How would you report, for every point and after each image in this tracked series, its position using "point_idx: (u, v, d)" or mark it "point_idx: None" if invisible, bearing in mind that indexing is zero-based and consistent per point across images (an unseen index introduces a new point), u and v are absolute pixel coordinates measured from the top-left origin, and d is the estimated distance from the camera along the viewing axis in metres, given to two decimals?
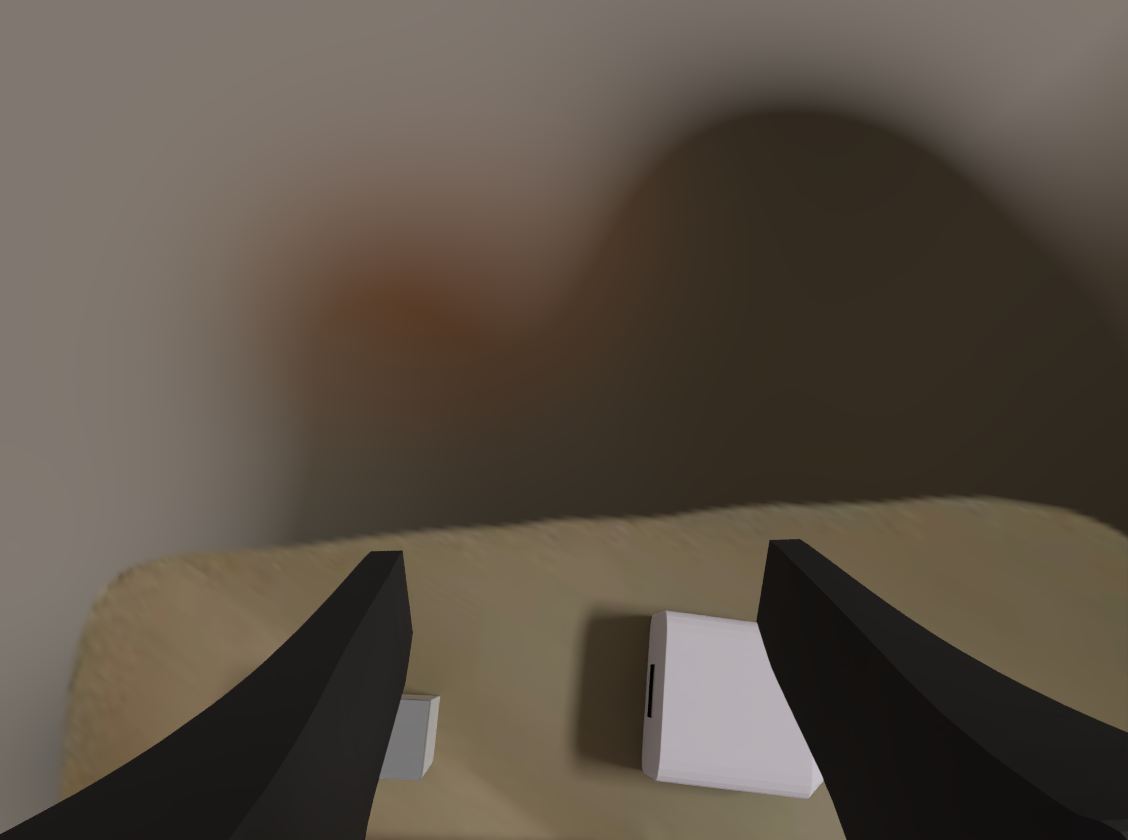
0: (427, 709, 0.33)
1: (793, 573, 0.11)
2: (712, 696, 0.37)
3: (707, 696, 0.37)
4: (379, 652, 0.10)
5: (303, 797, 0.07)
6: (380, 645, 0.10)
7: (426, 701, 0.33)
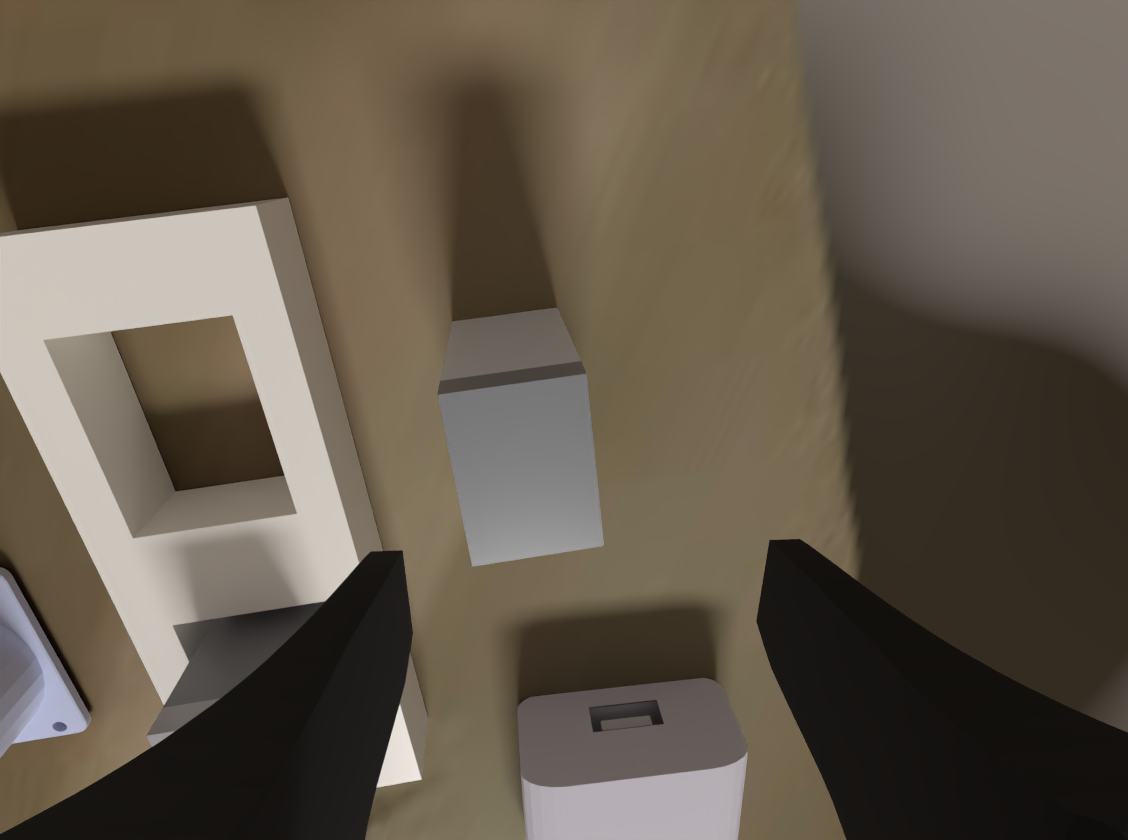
0: (589, 546, 0.17)
1: (793, 573, 0.11)
2: (641, 826, 0.26)
3: (641, 821, 0.26)
4: (379, 652, 0.10)
5: (303, 797, 0.07)
6: (380, 645, 0.10)
7: (601, 539, 0.17)
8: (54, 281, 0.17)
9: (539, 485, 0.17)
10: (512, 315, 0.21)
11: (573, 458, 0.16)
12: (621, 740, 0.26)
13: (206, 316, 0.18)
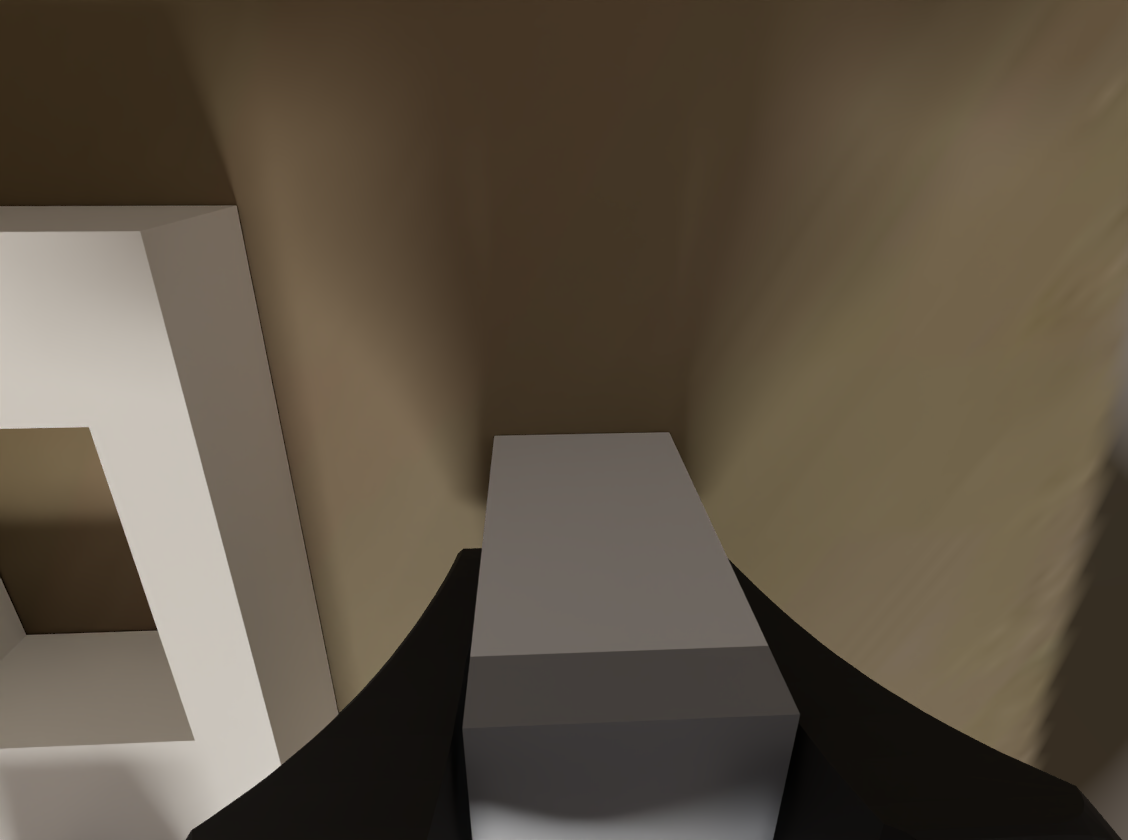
0: None
1: None
2: None
3: None
4: None
5: (456, 790, 0.07)
6: None
7: None
8: None
9: None
10: (595, 439, 0.13)
11: None
12: None
13: (38, 424, 0.09)
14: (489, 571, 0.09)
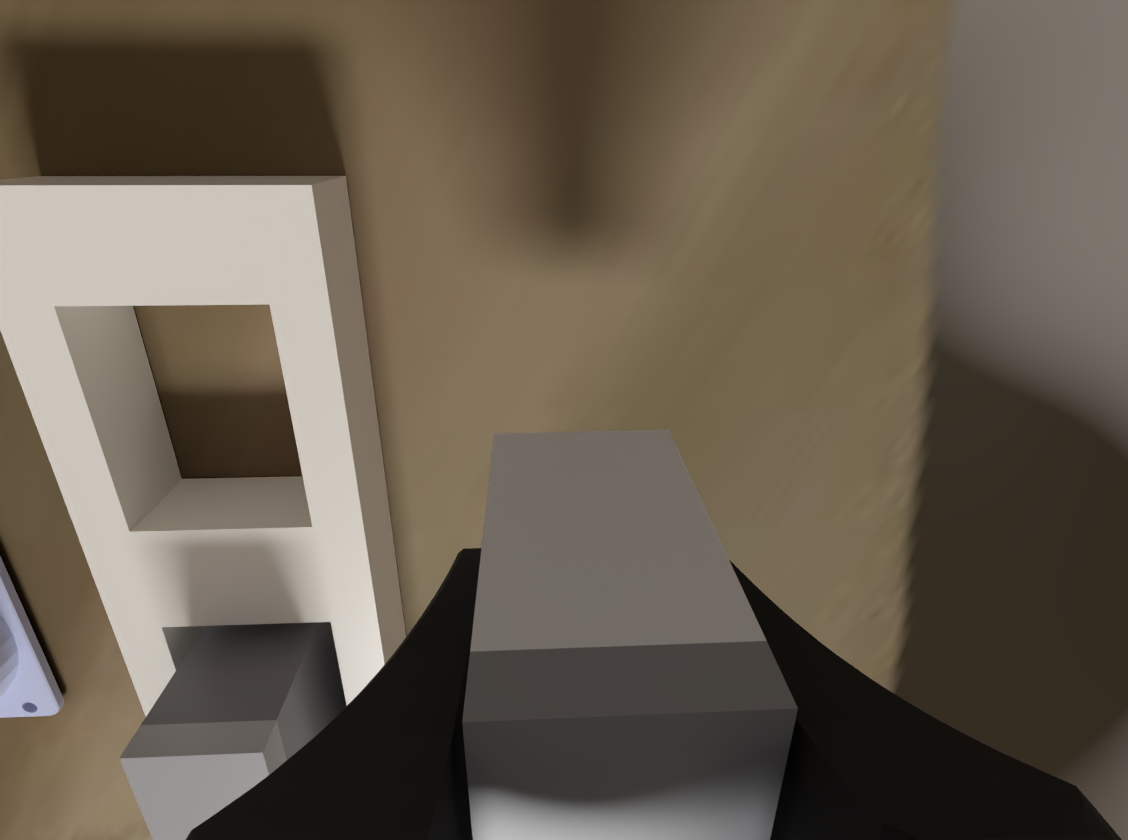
0: None
1: None
2: None
3: None
4: None
5: (455, 789, 0.07)
6: None
7: None
8: (73, 242, 0.15)
9: None
10: (595, 437, 0.13)
11: None
12: None
13: (239, 302, 0.16)
14: (489, 567, 0.09)
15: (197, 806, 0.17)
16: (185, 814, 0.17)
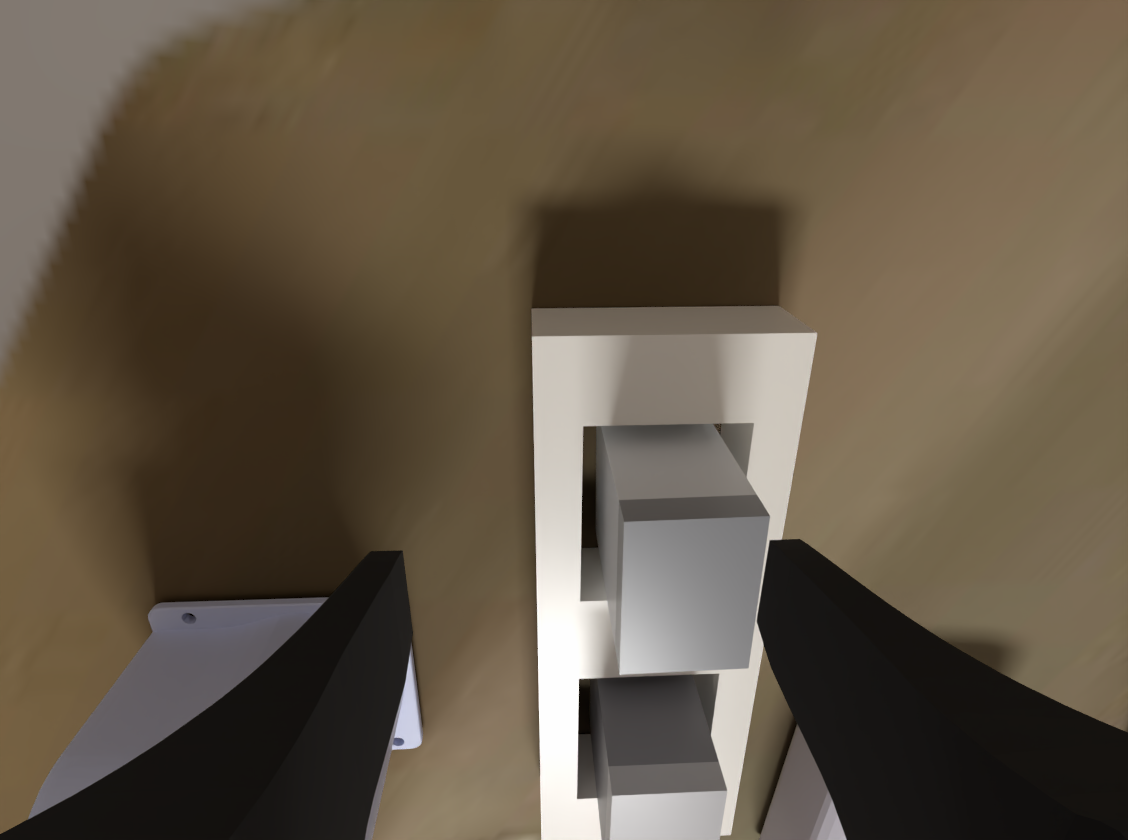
0: (734, 667, 0.18)
1: (793, 573, 0.11)
2: None
3: None
4: (379, 652, 0.10)
5: (303, 797, 0.07)
6: (380, 645, 0.10)
7: (746, 661, 0.18)
8: (615, 378, 0.18)
9: (701, 610, 0.17)
10: None
11: (739, 589, 0.17)
12: None
13: (730, 421, 0.19)
14: (616, 469, 0.18)
15: (655, 834, 0.21)
16: None
